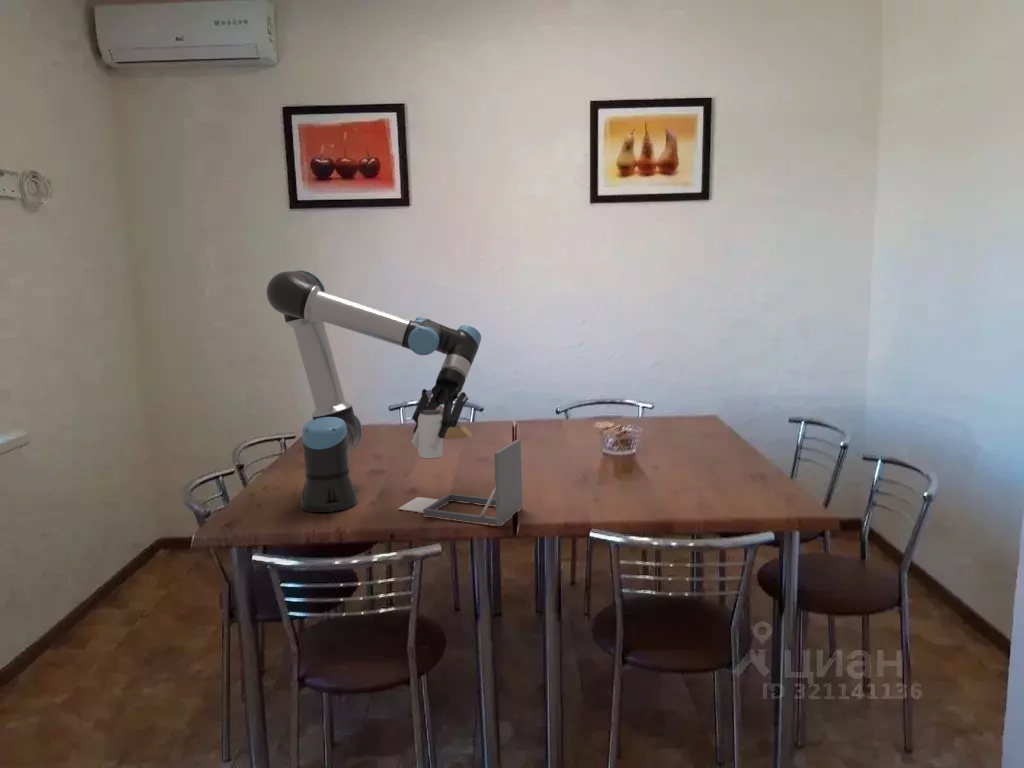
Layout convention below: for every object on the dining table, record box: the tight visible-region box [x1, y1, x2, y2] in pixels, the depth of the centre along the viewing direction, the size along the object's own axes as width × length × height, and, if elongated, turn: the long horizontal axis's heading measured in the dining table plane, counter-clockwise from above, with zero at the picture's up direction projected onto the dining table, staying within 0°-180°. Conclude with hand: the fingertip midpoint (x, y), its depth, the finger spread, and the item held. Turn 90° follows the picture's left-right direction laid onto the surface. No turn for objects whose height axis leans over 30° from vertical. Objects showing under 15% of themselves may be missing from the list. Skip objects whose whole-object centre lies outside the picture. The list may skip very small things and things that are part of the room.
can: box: [417, 410, 444, 460], centre depth 188 cm, size 6×6×12 cm
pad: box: [397, 496, 439, 512], centre depth 193 cm, size 8×10×1 cm
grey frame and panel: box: [422, 439, 523, 526], centre depth 185 cm, size 22×14×19 cm, turn 66°
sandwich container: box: [428, 398, 472, 439], centre depth 271 cm, size 9×15×15 cm, turn 91°
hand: (423, 446), depth 185 cm, fingers closed on can, 5 cm apart
